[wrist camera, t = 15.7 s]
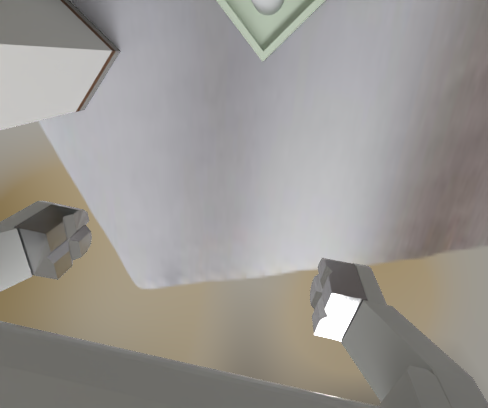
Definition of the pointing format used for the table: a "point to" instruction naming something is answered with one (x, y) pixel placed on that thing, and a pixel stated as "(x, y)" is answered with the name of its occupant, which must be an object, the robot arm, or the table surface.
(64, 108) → the notched white block
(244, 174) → the table surface
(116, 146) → the table surface
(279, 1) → the gray bottle
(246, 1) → the tray
